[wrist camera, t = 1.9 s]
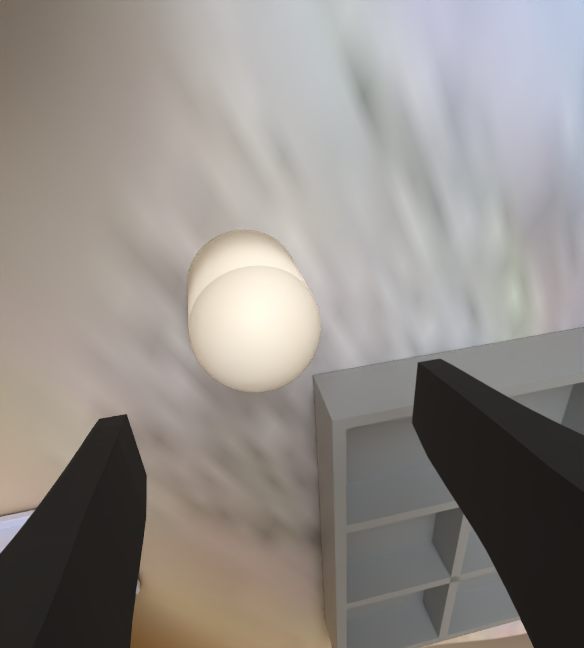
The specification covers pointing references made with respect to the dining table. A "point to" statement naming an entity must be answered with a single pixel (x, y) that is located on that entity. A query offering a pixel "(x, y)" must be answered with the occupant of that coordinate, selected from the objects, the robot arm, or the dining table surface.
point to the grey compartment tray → (418, 495)
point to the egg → (250, 312)
